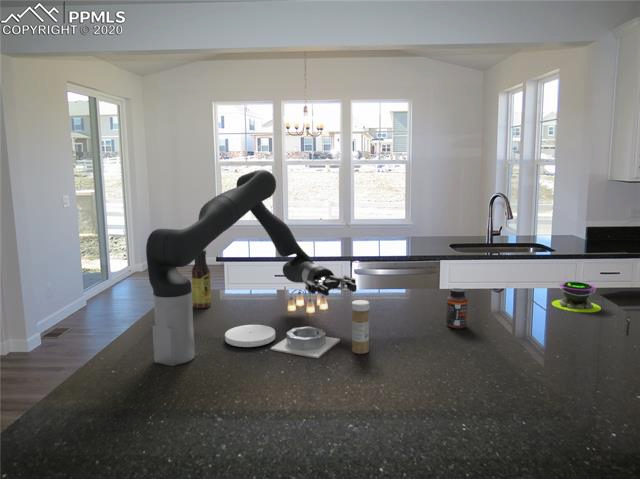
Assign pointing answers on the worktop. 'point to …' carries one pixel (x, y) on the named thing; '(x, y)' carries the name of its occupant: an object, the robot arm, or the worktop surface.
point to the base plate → (313, 353)
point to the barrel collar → (306, 338)
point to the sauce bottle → (201, 282)
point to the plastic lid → (250, 335)
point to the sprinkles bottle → (360, 326)
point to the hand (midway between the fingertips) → (341, 290)
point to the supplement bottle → (456, 309)
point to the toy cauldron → (576, 297)
